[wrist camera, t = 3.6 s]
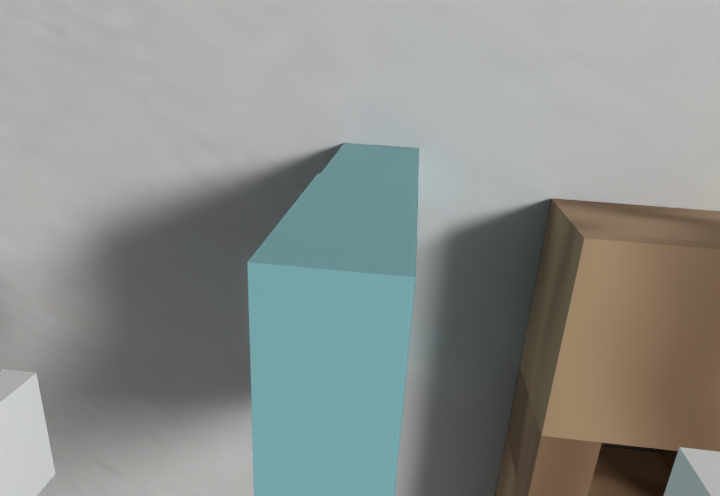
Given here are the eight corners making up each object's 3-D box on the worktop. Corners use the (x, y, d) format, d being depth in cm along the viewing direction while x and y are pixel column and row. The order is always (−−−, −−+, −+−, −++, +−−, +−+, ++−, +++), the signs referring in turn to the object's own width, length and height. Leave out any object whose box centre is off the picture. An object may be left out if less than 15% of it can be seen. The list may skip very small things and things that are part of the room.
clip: (335, 361, 22) (258, 644, 12) (344, 140, 18) (246, 262, 8) (399, 368, 22) (378, 662, 11) (419, 145, 18) (415, 277, 8)
